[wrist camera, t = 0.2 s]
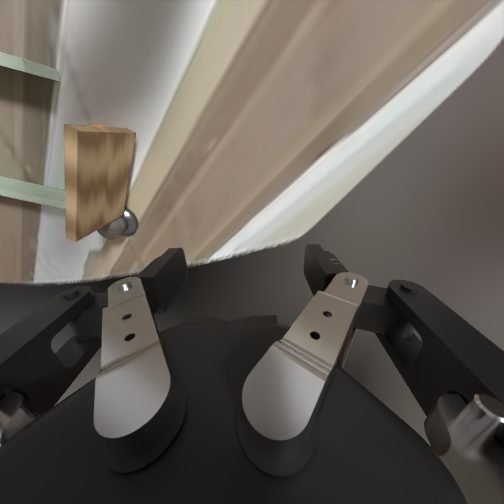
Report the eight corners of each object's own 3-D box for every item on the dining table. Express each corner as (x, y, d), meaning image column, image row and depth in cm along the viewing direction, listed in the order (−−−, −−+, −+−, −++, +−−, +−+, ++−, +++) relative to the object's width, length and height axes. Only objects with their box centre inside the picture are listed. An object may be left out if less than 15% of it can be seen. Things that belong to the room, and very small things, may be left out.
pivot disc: (108, 199, 33) (105, 201, 33) (140, 214, 35) (137, 216, 34) (106, 225, 36) (102, 227, 35) (135, 237, 37) (132, 240, 36)
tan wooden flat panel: (126, 234, 35) (84, 265, 27) (107, 226, 35) (57, 255, 26) (144, 137, 27) (90, 137, 18) (118, 123, 26) (49, 117, 18)
